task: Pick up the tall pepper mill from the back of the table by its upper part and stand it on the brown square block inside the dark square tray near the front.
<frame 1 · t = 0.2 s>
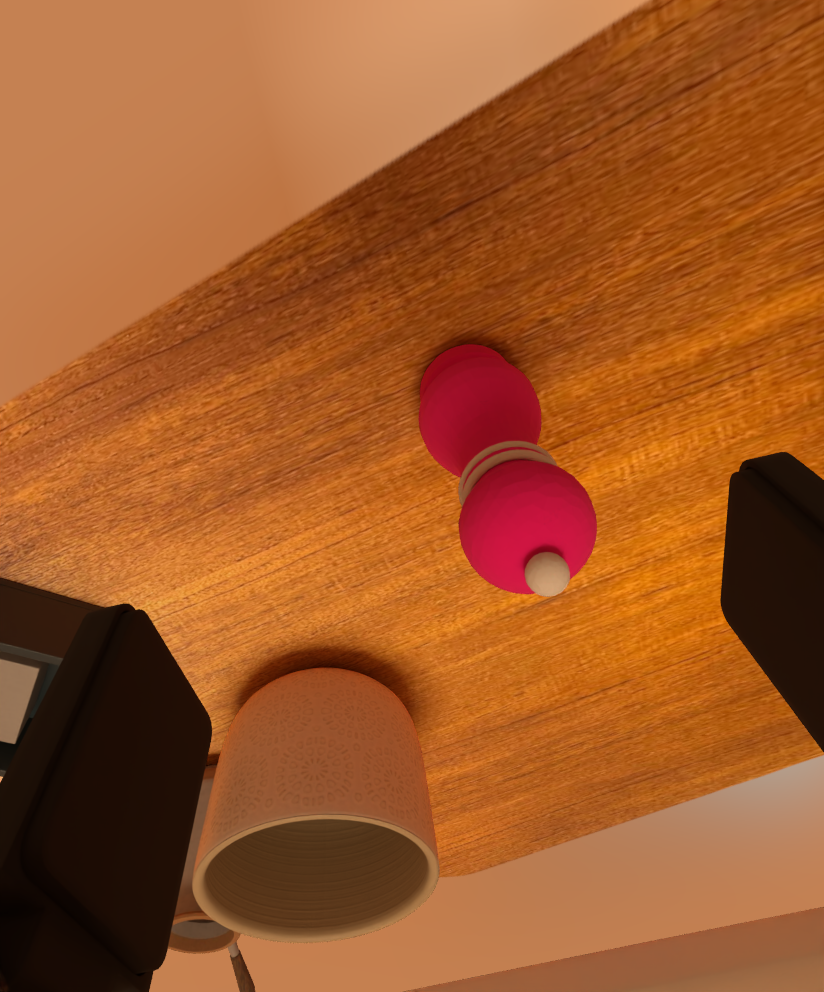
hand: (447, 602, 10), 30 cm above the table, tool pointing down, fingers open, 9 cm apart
planter: (324, 705, 56), on the table
pepper mill: (466, 388, 41), on the table
coffee pot: (243, 813, 64), on the table
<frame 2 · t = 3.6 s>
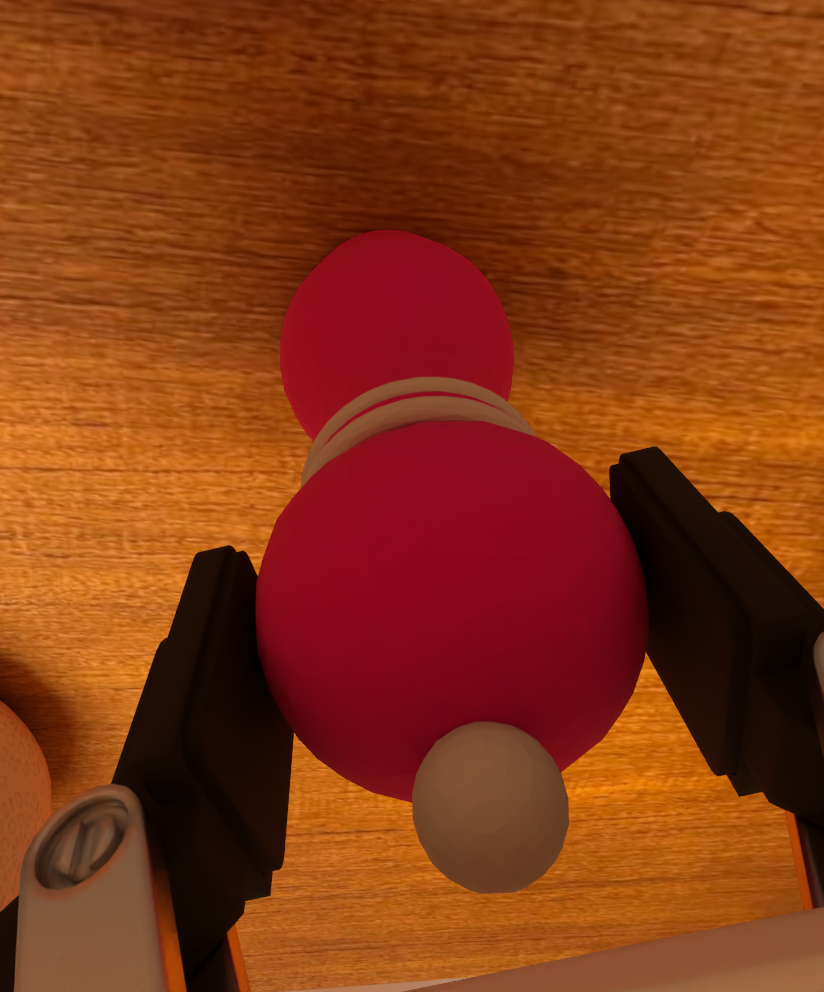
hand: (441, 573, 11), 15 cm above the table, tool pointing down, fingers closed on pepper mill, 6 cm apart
pepper mill: (388, 316, 23), on the table, touching gripper
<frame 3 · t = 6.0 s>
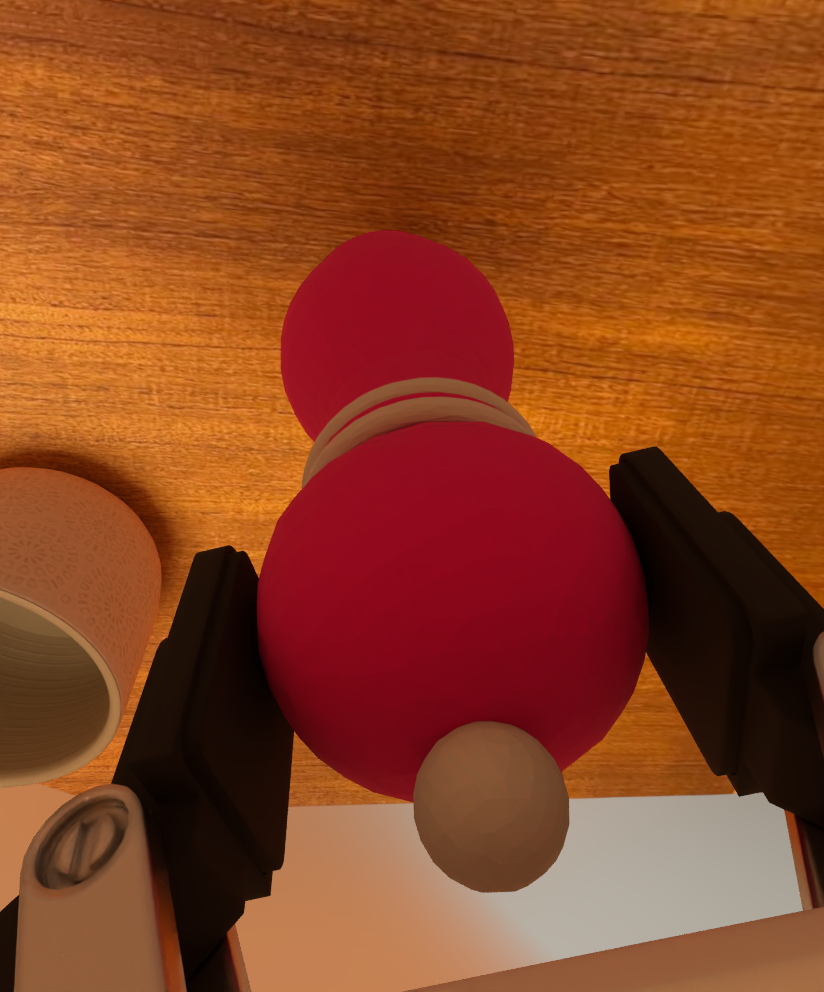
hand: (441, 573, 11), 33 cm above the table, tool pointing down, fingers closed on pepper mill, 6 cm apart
planter: (66, 535, 48), on the table
pepper mill: (388, 317, 23), point 18 cm above the table, touching gripper
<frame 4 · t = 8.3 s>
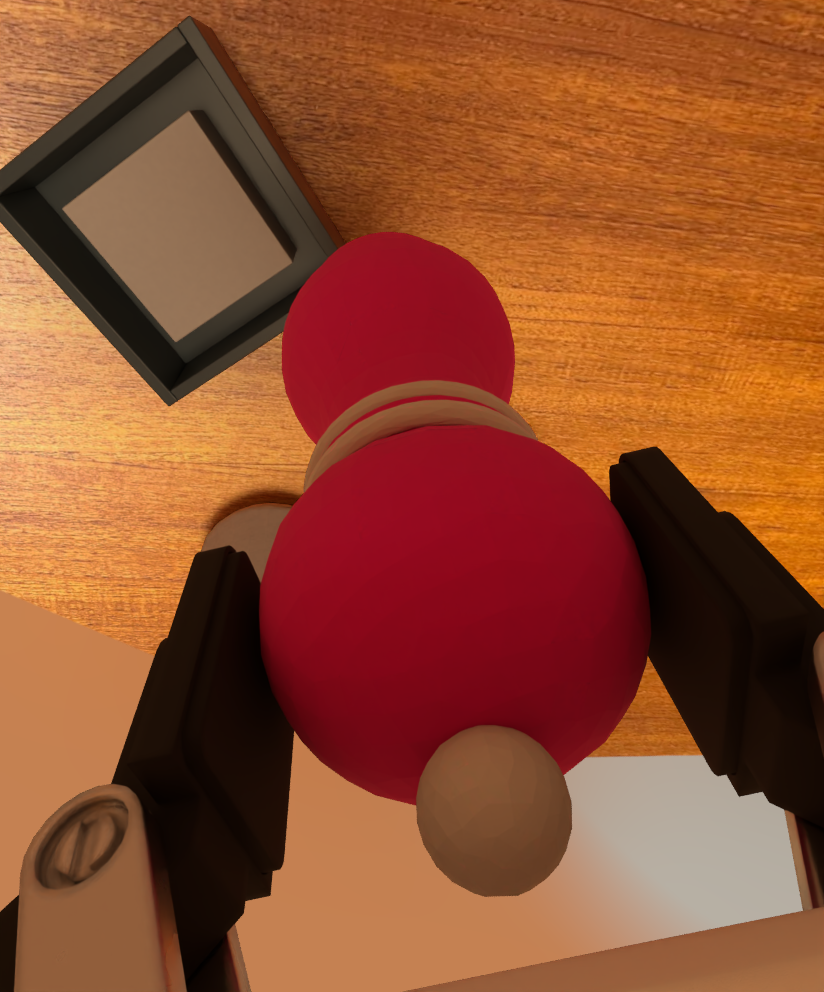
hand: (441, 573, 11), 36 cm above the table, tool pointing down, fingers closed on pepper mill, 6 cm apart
dark square tray: (197, 223, 39), on the table
pepper mill: (389, 318, 23), point 20 cm above the table, touching gripper
coffee pot: (265, 586, 56), on the table
brown square block: (195, 225, 39), point 1 cm above the table, touching dark square tray
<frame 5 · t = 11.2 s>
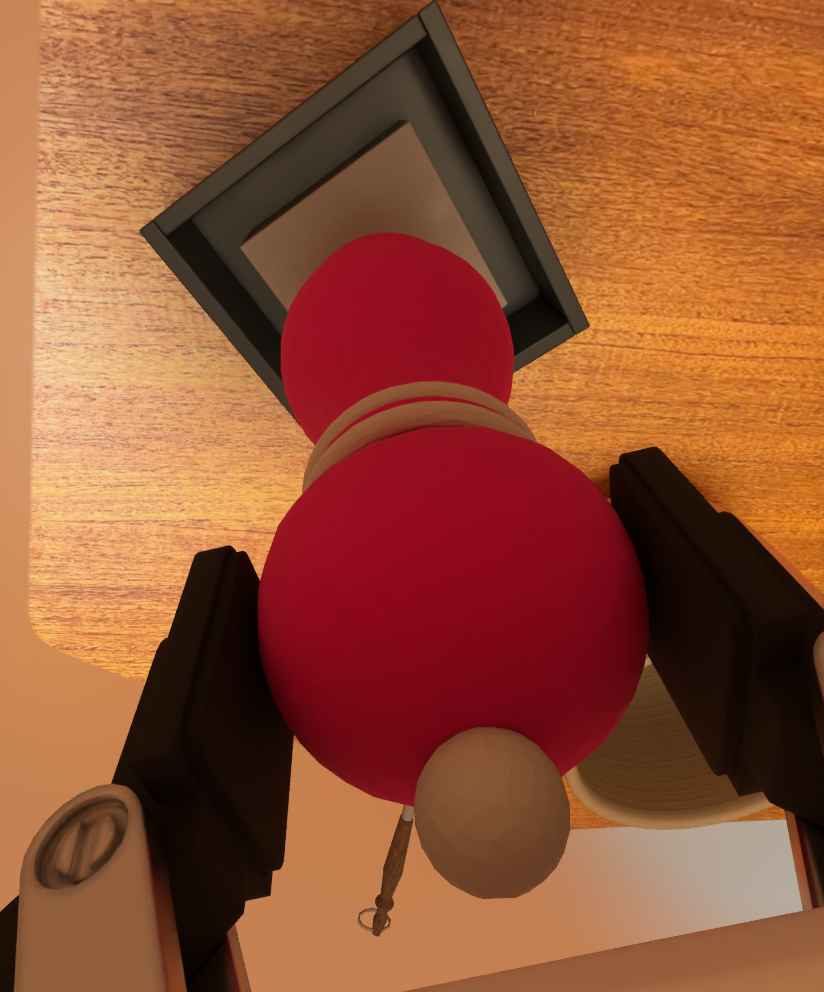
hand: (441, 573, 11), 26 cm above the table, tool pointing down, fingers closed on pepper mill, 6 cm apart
dark square tray: (375, 256, 33), on the table
planter: (615, 557, 45), on the table
pepper mill: (388, 319, 23), point 11 cm above the table, touching gripper
coffee pot: (401, 657, 49), on the table
brown square block: (375, 259, 32), point 1 cm above the table, touching dark square tray
when the fingers open (20 cm above the table, at t = 13.3 s): pepper mill stays where it is, resting on brown square block.
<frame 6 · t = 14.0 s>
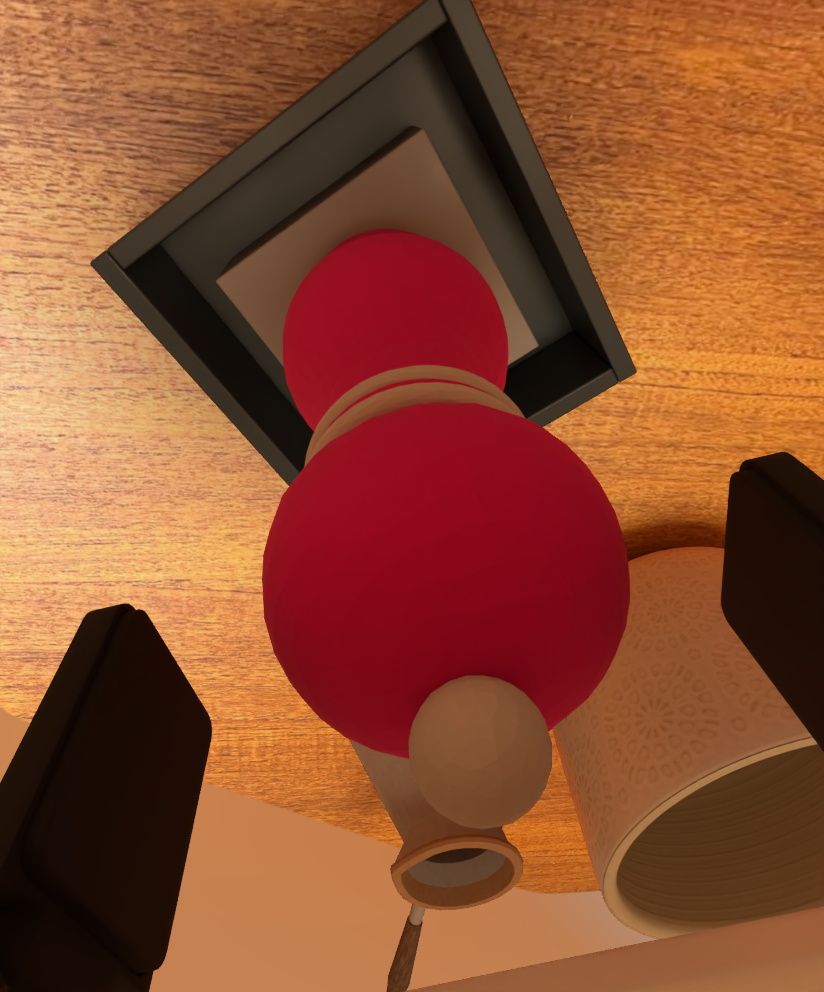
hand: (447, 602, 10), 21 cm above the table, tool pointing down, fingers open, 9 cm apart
dark square tray: (379, 286, 28), on the table
planter: (648, 614, 41), on the table
pepper mill: (387, 313, 24), point 4 cm above the table, touching brown square block
coffee pot: (407, 721, 44), on the table
brown square block: (380, 289, 27), point 1 cm above the table, touching dark square tray, pepper mill
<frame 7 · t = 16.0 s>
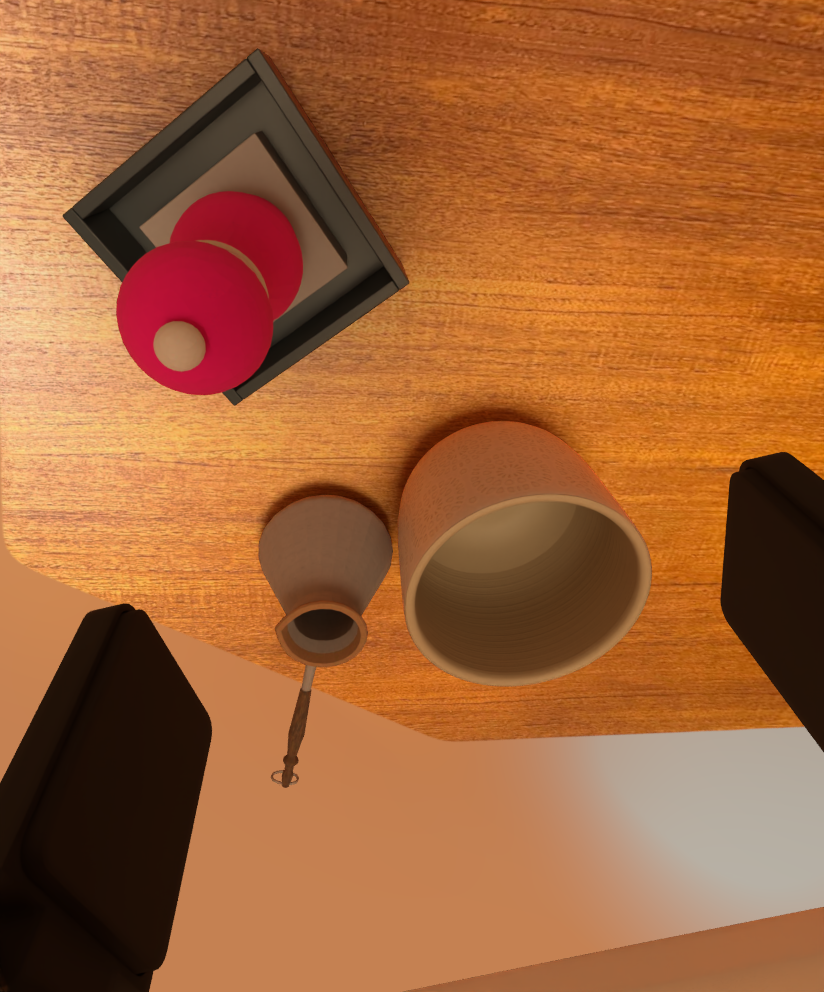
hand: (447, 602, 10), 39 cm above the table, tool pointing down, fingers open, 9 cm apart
dark square tray: (255, 235, 43), on the table
planter: (485, 485, 55), on the table
pepper mill: (248, 247, 39), point 4 cm above the table, touching brown square block
coffee pot: (316, 575, 59), on the table
brown square block: (254, 237, 42), point 1 cm above the table, touching dark square tray, pepper mill
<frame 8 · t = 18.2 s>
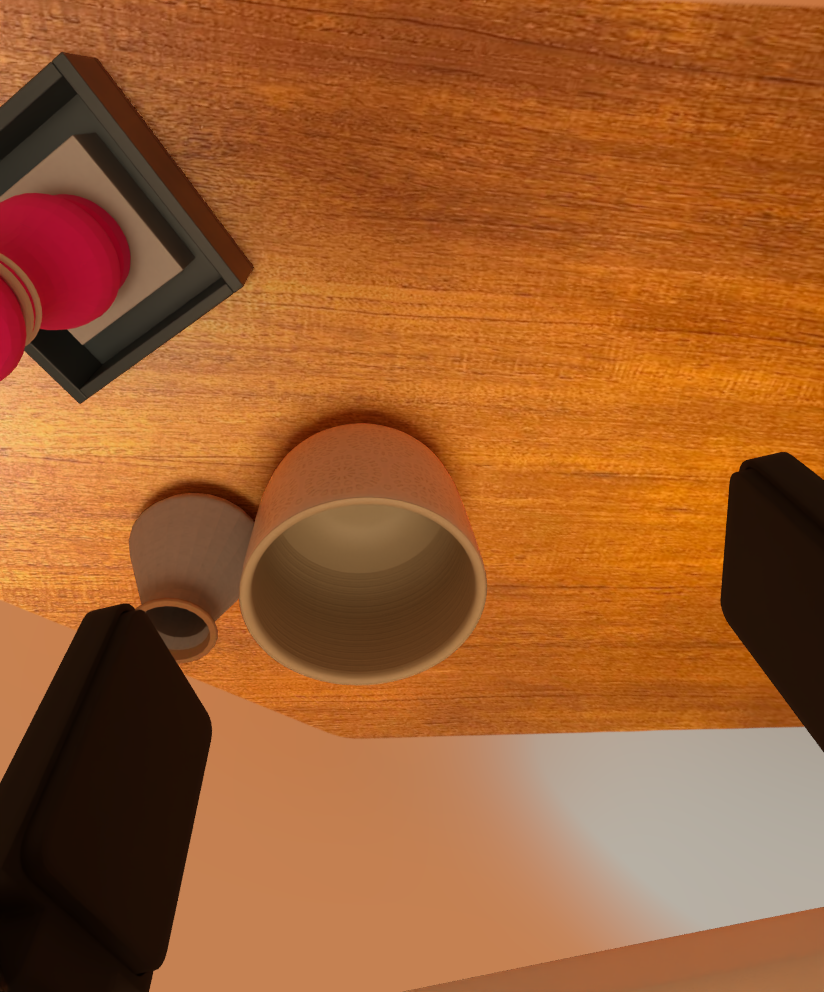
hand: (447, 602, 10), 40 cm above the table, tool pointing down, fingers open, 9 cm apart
dark square tray: (101, 235, 43), on the table
planter: (360, 485, 56), on the table
pepper mill: (80, 248, 39), point 4 cm above the table, touching brown square block
coffee pot: (198, 572, 59), on the table
brown square block: (98, 237, 43), point 1 cm above the table, touching dark square tray, pepper mill
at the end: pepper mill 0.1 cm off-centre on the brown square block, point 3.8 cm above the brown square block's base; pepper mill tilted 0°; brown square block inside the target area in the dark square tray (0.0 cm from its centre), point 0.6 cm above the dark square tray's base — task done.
